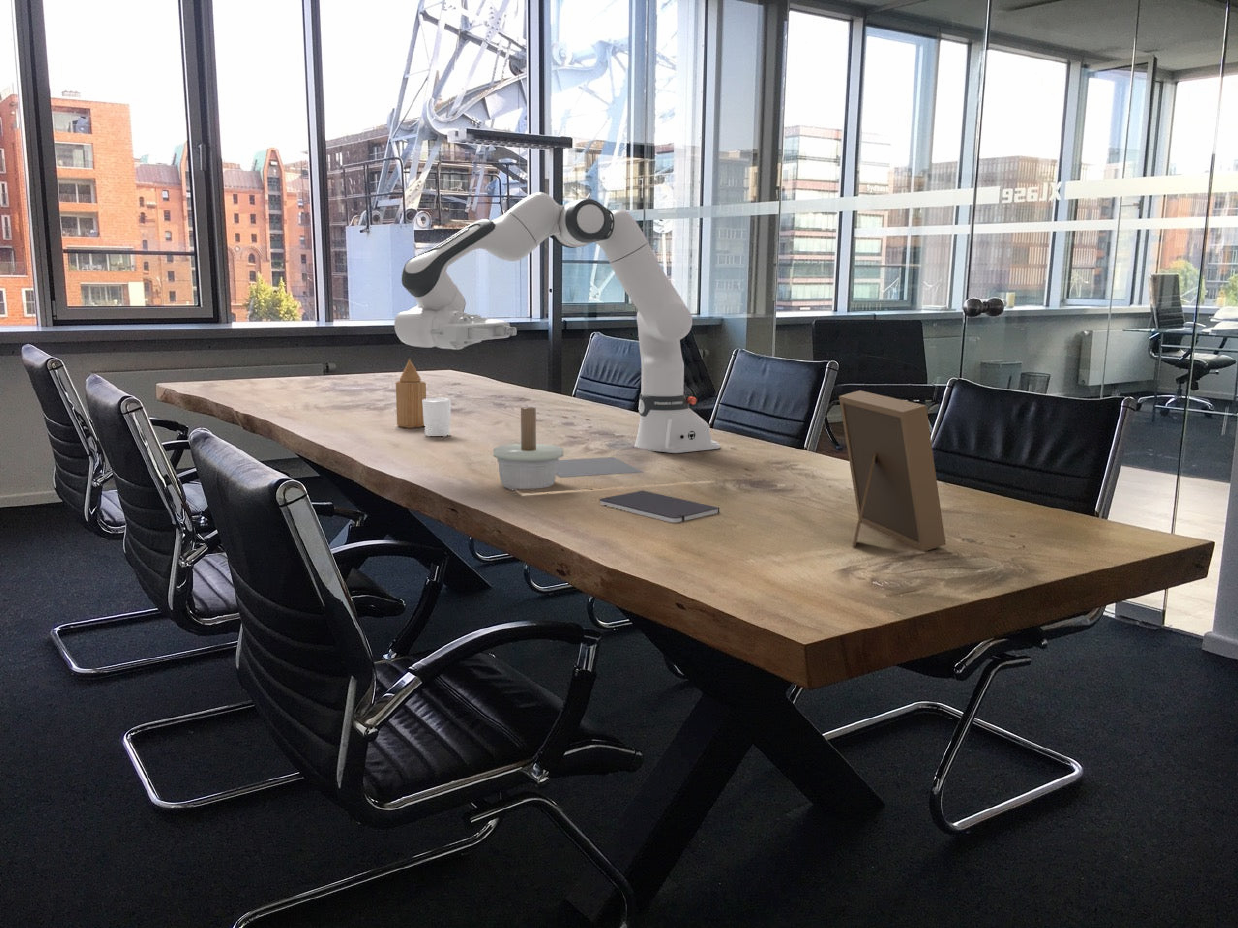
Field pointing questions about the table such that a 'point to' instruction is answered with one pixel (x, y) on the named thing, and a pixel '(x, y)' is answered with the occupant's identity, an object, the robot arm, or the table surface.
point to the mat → (593, 467)
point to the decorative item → (410, 398)
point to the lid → (528, 443)
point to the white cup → (436, 416)
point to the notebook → (659, 506)
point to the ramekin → (527, 473)
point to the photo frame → (893, 468)
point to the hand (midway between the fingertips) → (502, 332)
